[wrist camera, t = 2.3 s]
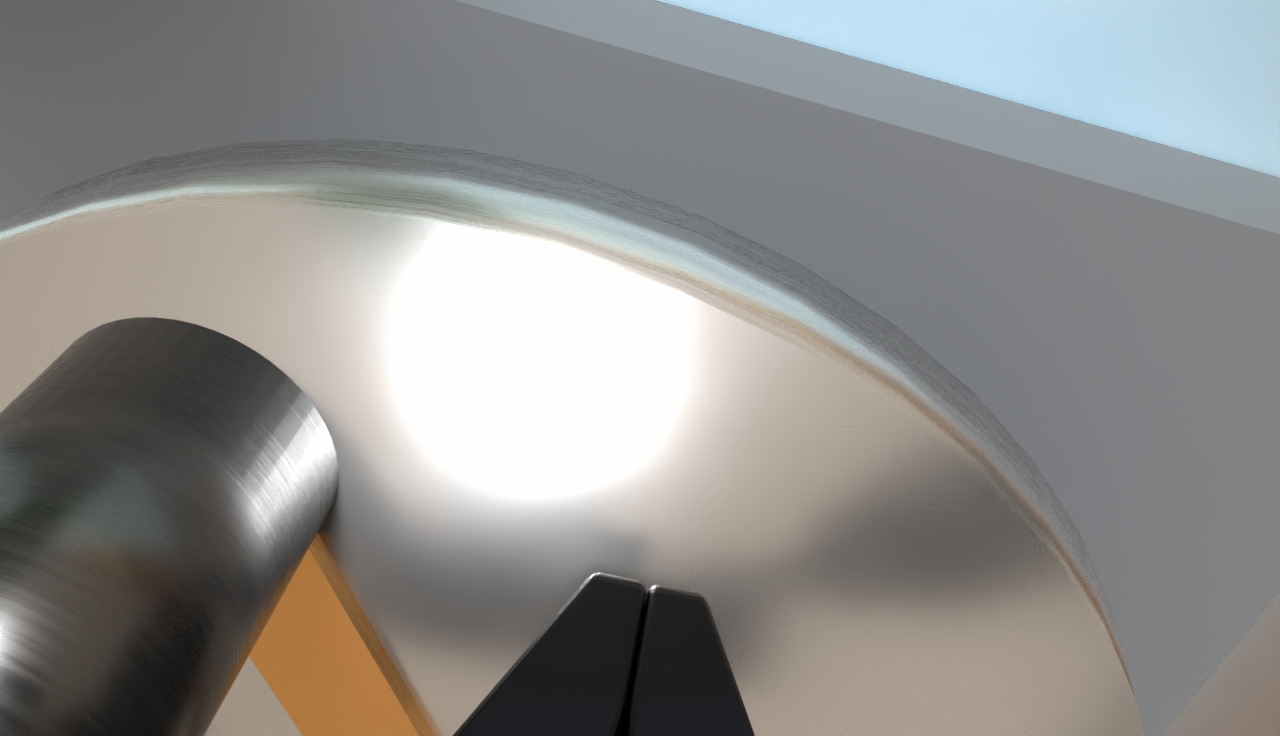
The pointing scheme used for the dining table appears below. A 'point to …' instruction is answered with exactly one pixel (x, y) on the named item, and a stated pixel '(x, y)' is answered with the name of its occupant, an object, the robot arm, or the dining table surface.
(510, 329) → the handwheel
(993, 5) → the dining table surface
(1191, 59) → the dining table surface
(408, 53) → the wheel base
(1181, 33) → the dining table surface
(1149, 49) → the dining table surface
